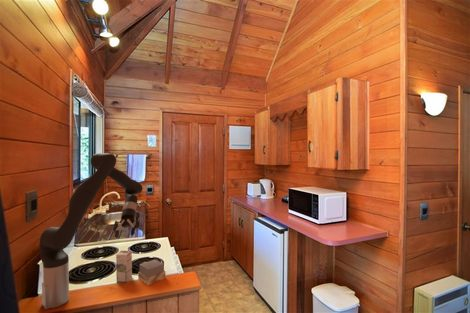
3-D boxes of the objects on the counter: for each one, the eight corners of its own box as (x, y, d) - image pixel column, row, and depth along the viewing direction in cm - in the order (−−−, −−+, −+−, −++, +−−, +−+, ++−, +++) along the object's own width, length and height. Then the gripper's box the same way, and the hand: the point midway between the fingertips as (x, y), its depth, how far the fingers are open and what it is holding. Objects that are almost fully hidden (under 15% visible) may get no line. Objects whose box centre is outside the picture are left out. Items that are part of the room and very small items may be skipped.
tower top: (148, 277, 124) (148, 269, 124) (139, 272, 130) (139, 264, 130) (164, 271, 131) (164, 263, 131) (155, 266, 137) (155, 259, 137)
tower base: (148, 286, 124) (148, 278, 124) (138, 279, 130) (138, 272, 130) (165, 278, 131) (165, 271, 131) (155, 272, 138) (155, 265, 138)
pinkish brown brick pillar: (132, 277, 132) (132, 250, 132) (126, 282, 126) (126, 254, 126) (122, 276, 133) (122, 249, 133) (115, 282, 127) (115, 254, 127)
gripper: (114, 210, 145) (108, 235, 133) (138, 205, 145) (134, 231, 133) (120, 216, 150) (114, 241, 139) (143, 212, 150) (139, 237, 139)
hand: (124, 236), depth 136 cm, fingers open, 8 cm apart
